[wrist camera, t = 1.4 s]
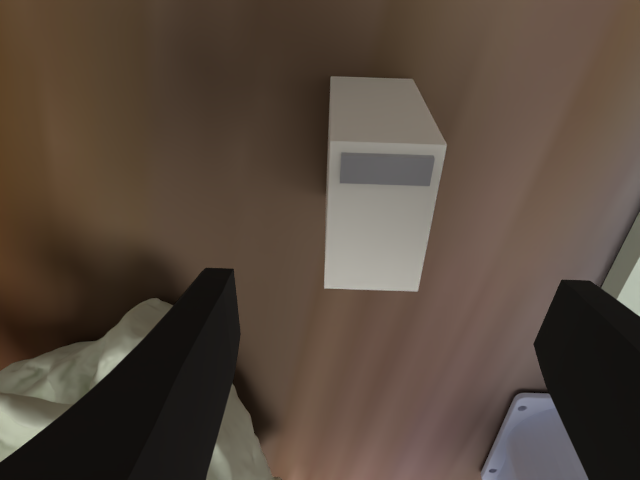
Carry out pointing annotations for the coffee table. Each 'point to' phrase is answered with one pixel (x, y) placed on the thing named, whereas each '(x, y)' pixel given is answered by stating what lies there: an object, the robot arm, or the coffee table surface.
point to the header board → (626, 271)
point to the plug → (379, 183)
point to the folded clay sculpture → (89, 369)
